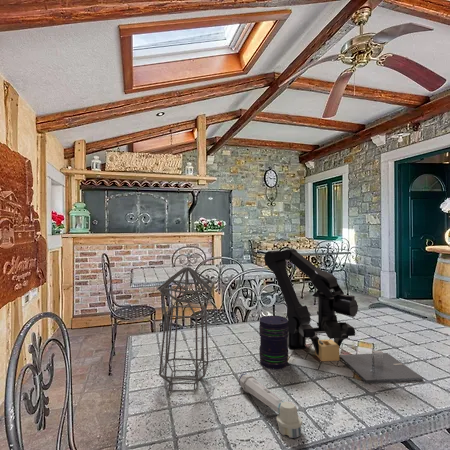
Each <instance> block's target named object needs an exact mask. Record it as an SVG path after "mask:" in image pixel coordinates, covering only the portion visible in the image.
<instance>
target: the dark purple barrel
mask: <svg viewBox="0 0 450 450" xmlns="http://www.w3.org/2000/svg"><path fill="white" fill-rule="evenodd" d="M258 330H259V332H258V334H259V338H260V339H259V340H260V341H259V342H260V343H259V344H260V345H259V348H258V350H259V351H258V352H259V353H258V354H259V365H260V366H261V367H263V368H265V369H268V370H275V371H276V370H278V371H279V370H283V369H287V367H288V366H289V362H288V361H289V347H288V346H287V338H288V318H287V317H284V316H281V315H265V316H261V317H259V327H258Z"/></svg>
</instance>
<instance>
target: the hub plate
mask: <svg viewBox="0 0 450 450" xmlns="http://www.w3.org/2000/svg"><path fill="white" fill-rule="evenodd" d="M339 360H341V361H342V362H343V363H344V364H345V365H346V366H347V367H348V368H349V369H350V370H351V371H352V372H353V373H354V374H355V375H357V376H358V378H360V379H361V380H362V381H363V382H364V384H383V383H384V384H385V383H402V382H403V383H404V382H405V383H406V382H422V381H424V377H423V376H422V375H420V374H419V373H418V372H416V371H414V370H413V369H412V368H410V367H408V365H405V364H404V363H402V361H400V360H398V359H397V358H395V357H394V356H392V355H391V354H390V353H388V352H383V351H382V350H372V351H371V353H353V354H339Z"/></svg>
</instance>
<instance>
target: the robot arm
mask: <svg viewBox="0 0 450 450" xmlns="http://www.w3.org/2000/svg"><path fill="white" fill-rule="evenodd" d="M263 260H264V262H265V264H266V266H267V268H268V269H269V270H270V271H271V272H272V273H273V274H274V277H275V279H276V282H277V283H278V287H279V290H280V291H281V293H282V294H281V295H282V296H283V299H284V302H285V304H286V308H287V309H286V318H287V319H288V338H287V347H288V350H289V349H290V350H294V349H295V350H297V349H298V350H299V349H307V346H306V344H307V341H306V340H307V338H309V339H310V340H311V343H312V345H313V348H314V352H315V351H316V354H317V355H319V345H318V340H320V337H319V336H318V334H326V336H327V338H328V339H329V340H331V339H332V340H333V341H334V342H335V343H336V344H337V345H339V349H341V345H342V343H343V341H344V340H346V339H348V338H349V337H355V336H356V329H355V327H354V326H352V325H350V324H349V323H347V322H346V321H345V322H338V317H337V315H336V314H338V315H344V316H348V317H352V318H355V317H356V315H358V310H359V305H358V301H357V300H356V299H355V298H356V297H355V296H354V295H346V294H345V292H344V290H343V289H342V287H341V286H340V285H339V283H338V278H337V277H335V275H333V274H331V273H329V272H327V271H325V270H322V269H320V268H318V267H317V266H315V264H313V263H312V262H310V260H308V259H307V258H305V257H304V256H303V255H302V254H301V253H300V252H298V250H296V249H295V248H286V249H284V250H268V251H267V252H265V253H264V257H263ZM287 260H288V261H289V262H290V263H291V264H293V265H294V266H295V267H296V268H297V269H298V270H300V271H301V272H302V273H303V274H304V275H306V276H307V277H308V278H309V280H310V282H311V285H312V286H313V287H314V288H315V289H316V291H315V292H314V293H313V294H312V297H314V298H315V297H316V298H317V305H318V308H317V311H316V315H317V316H318V317H317V318H318V319H317V320H318V321H317V323H316V326H317V327H316V326H315V327H314V326H312V325H311V321H312V319H311V315H312V314H311V313H310V311H309V308H308V306H307V305H306V304H305V305H303V304H302V303H300V301H299V299H298V296H297V294H296V292H295V289H294V287H293V284H292V282H291V279H290V276H289V274H288V271H287V270H286V265H287ZM316 354H315V355H316Z"/></svg>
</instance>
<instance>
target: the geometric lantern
mask: <svg viewBox="0 0 450 450" xmlns="http://www.w3.org/2000/svg"><path fill="white" fill-rule="evenodd" d="M189 275H190V276H191V278H192V280H193V282H192V281H190V282H189V280H190V279H189ZM179 276H180V278H179V280H176V279H177V278H178V277H179ZM184 277H185V278H184ZM202 278H203V279H202ZM183 279H185V280H184V281H182V280H183ZM171 283H173V284H174V285H176V287H175V289H174V288H169V286H170V285H171ZM181 284H183V285H184V287H183V286H182V285H181ZM209 284H210V285H209ZM189 285H195V289H194V290H189ZM198 285H199V286H200V288H198ZM213 287H214V281H213V280H211V279H209V278H208V277H205V276H204V275H202V274H201V273H199V272H198V271H196V270H195V269H193V268H192V267H190V266H184V267H183V268H181V269H180V270H179V271H177V272H176V273H174V274H173V275H172V276H170V277H169V278H168V279H167V280H165V282H163V284H161V285H159V286H158V287H157V288H156V290H157V291H159V292H160V293H161V295H162V301H163V313H164V323H163V332H162V333H163V334H162V341H161V350H160V351H161V352H160V358H159V359H160V361H159V362H160V363H159V372H158V376H159V377H160V378H161V379H163V380H164V381H166V382H167V383H168V388H167V390H168V391H170V392H195V391H196V390H198V389H199V388H198V387H199V382H200V381H201V380H202V379H203V378H205V377H206V373H207V369H208V365H209V346H208V343H209V342H208V322H207V321H208V318H207V316H208V315H207V308H208V304H209V300H210V298H211V296H212V291H213ZM179 288H180V289H182V290H178V289H179ZM169 291H170V292H174V296H173V295H172V294H171V293H170V292H169ZM177 293H179V294H181V293H182V294H183V295H182V296H181V298H180V299H178V297H177ZM204 293H208V294H207V297H206V298H205V300H204V302H203V304H202V302H201V300H200V298H199V296H200V295H202V294H204ZM187 294H195V295H193V296H191V297H189V298H187ZM165 297H167V298H168V300H169V302H170V304H171V306H170V307H169V308H168V309H166V299H165ZM195 298H197V299H198V302H199V303H200V305H201V306H197V305H196V306H193V305H191V304H190V302H189V301H191V300H192V299H195ZM171 299H173V300H174V301H175V302H174V304H173V302H172V300H171ZM185 302H186V303H187V305H180V304H181V303H185ZM176 303H177V305H176ZM175 308H176V315H174V309H175ZM179 308H189V309H190V310H191V312H192V314H193V316H191V315H179ZM193 308H195V309H196V308H197V309H199V308H200V309H201V312H200V315H197V313H196V312H195V311H194V309H193ZM169 314H170V315H169ZM173 318H175V329H174V330H175V331H174V333H175V334H174V345H173V346H174V349H173V358H169V357H170V349H171V337H172V329H173V328H172V327H173V326H172V325H173ZM179 318H190V319H195V321H194V322H195V358H186V357H185V358H183V357H181V358H180V357H176V356H177V355H176V352H177V351H176V349H177V336H178V325H179V324H178V321H179ZM198 318H200V320H201V321H200V324H201V326H200V327H201V331H200V332H201V340H200V341H201V342H200V343H201V346H200V347H201V352H200V358H198V353H199V352H198V346H199V345H198ZM169 322H170V323H169ZM204 328H205V329H204ZM204 330H205V339H204ZM204 340H205V341H204ZM164 347H165V353H164ZM205 349H206V350H205ZM205 351H206V354H205ZM164 354H165V358H164V357H163V356H164ZM205 356H206V360H205ZM163 358H164V365H163ZM171 361H172V362H173V369H172V367H171V364H170V362H171ZM175 361H192V362H193V361H194V362H195V369H176V364H175ZM201 363H202V366H201V368H200V365H201ZM167 366H168V367H169V369H170V371H171V373H170V376H168V373H167V372H168V371H167V369H168V367H167ZM199 368H200V369H199ZM200 371H202V375H201V376H200V375H199V373H200ZM163 372H164V374H162V373H163ZM177 372H194V375H176V374H177ZM172 380H186V381H194V382H177V381H176V382H175V381H174V382H172ZM173 385H193V389H174V388H173V387H174V386H173Z"/></svg>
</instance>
